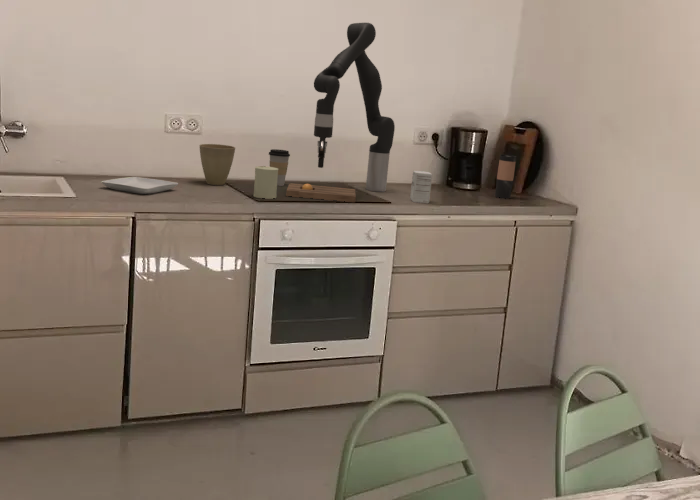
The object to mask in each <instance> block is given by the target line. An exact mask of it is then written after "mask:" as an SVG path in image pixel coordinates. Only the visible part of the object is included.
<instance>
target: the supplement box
mask: <svg viewBox="0 0 700 500" xmlns="http://www.w3.org/2000/svg"><path fill="white" fill-rule="evenodd" d="M432 180H433V173H431V172H430V171H423V170H413V171H412V178H411V187H410V195H409V196H410V197H409V199H410V201H412V202H413V203H419V204H420V203H421V204H429V203H430V197H431V190H432Z"/></svg>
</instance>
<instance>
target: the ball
mask: <svg viewBox="0 0 700 500" xmlns="http://www.w3.org/2000/svg"><path fill="white" fill-rule="evenodd" d="M311 185H312V184H310V183H305V184H303V186H302V189H308V190H313V188H312V186H311Z"/></svg>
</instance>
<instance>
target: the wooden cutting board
mask: <svg viewBox="0 0 700 500" xmlns="http://www.w3.org/2000/svg"><path fill="white" fill-rule="evenodd" d="M303 185H304V184H299V183H289V184H288V186H287V189H286V193H285V197H288V196H292V197H291V198H299V197H303V198H302V199H310V198H313V199H314V200H321V199H324V200H325V201H333V200H337V201H336V202H344V201H345V203H346V202H347V203H356V197H357V196H356V189H355V188H344V187H336V186H324V185H312V184H310V185H311V186H312V188H313V190H308V189H302V186H303ZM313 199H312V200H313ZM324 200H323V201H324Z"/></svg>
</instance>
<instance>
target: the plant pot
mask: <svg viewBox="0 0 700 500" xmlns="http://www.w3.org/2000/svg"><path fill="white" fill-rule="evenodd" d="M235 151H236V147H235V146H233V145H227V144H217V143H201V144H199V154H200V161H201V166H202V171H203V175H204V178H205V181H206V184H208V185H210V186H211V185H212V186H224V185H225V184H226V182H227V179H228V177H229V174H230V171H231V168H232V166H233V161H234V157H235V153H236V152H235Z"/></svg>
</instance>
